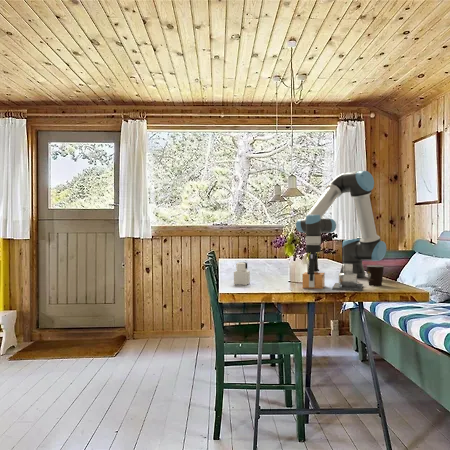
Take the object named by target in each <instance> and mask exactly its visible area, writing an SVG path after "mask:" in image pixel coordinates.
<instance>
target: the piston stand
mask: <svg viewBox="0 0 450 450" xmlns="http://www.w3.org/2000/svg"><path fill="white" fill-rule="evenodd" d="M342 264H343V263H342ZM362 287H363V288H364V284H363V283H358V278H357V274H355V273H353V264H343V273H340V272H339V273H338V282H334V285H333V286H332V290H333V291H353V292H357V291H358V292H362V291H363V288H362Z"/></svg>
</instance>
